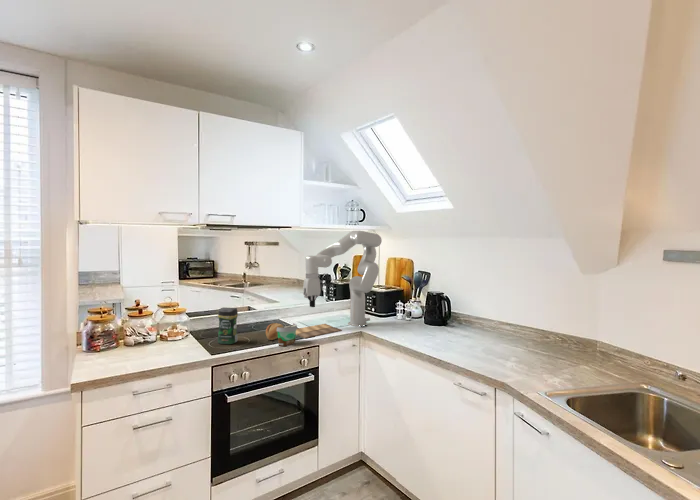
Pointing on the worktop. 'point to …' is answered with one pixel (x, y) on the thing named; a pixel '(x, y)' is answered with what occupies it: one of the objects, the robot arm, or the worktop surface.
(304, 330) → the oak board
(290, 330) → the food container
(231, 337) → the coffee jar
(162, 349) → the worktop surface
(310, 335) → the walnut board
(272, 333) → the bread roll
